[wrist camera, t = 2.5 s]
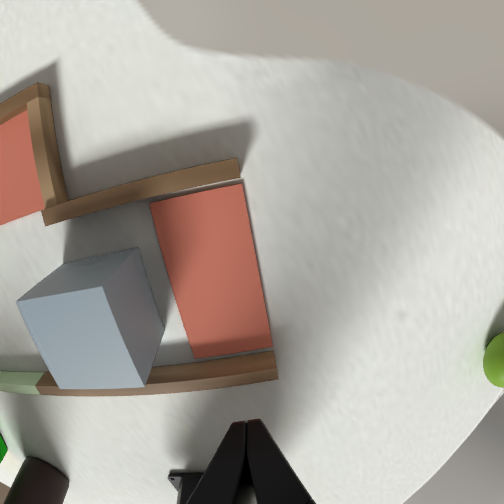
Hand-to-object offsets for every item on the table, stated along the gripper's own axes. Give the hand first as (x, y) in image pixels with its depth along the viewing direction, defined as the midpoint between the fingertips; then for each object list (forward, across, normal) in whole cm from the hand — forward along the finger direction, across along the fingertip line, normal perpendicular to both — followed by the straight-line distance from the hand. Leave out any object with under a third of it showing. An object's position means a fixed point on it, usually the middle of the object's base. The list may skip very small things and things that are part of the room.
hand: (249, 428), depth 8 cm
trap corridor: (+12, +14, -4) cm, 19 cm away
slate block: (+12, +9, 0) cm, 15 cm away
